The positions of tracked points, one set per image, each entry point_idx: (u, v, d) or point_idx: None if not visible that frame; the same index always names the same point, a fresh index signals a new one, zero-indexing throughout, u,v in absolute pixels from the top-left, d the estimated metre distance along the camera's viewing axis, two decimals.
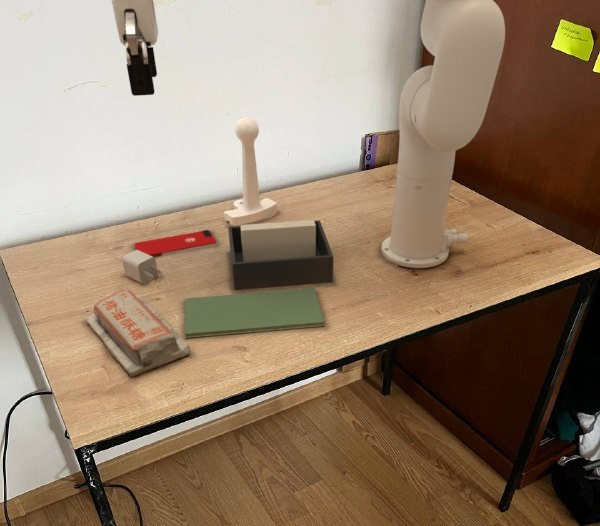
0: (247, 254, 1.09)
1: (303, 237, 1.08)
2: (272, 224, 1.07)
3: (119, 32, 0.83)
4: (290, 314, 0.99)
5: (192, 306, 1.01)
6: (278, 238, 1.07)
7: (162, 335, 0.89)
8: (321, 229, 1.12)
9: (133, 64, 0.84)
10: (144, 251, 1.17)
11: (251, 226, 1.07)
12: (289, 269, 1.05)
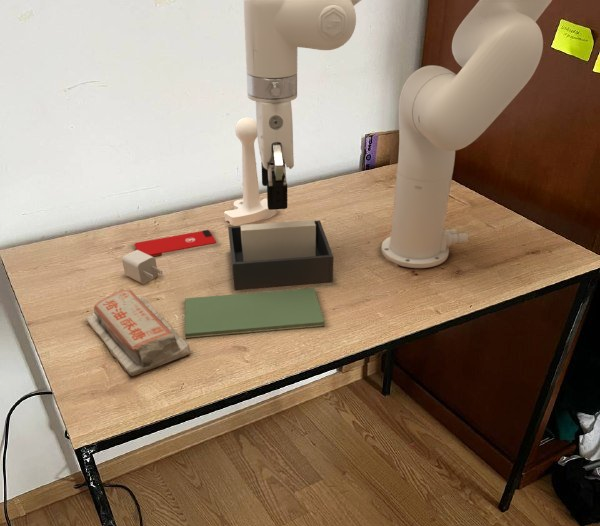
0: (247, 254, 1.09)
1: (303, 237, 1.08)
2: (272, 224, 1.07)
3: (264, 160, 0.95)
4: (290, 314, 0.99)
5: (192, 306, 1.01)
6: (278, 238, 1.07)
7: (162, 335, 0.89)
8: (321, 229, 1.12)
9: (274, 186, 0.96)
10: (144, 251, 1.17)
11: (251, 226, 1.07)
12: (289, 269, 1.05)
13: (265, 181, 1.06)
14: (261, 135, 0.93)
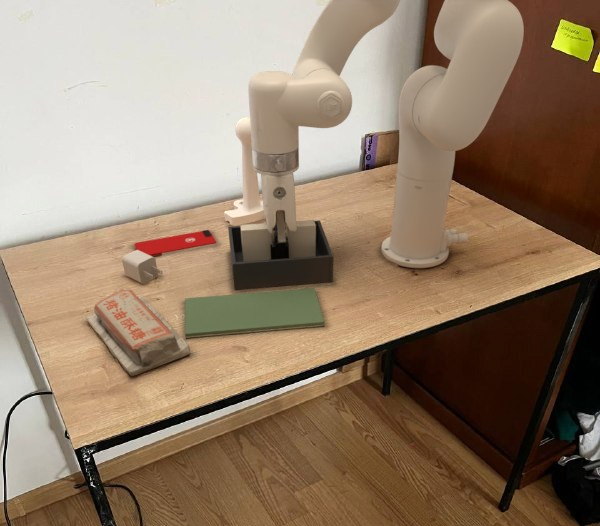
0: (247, 254, 1.09)
1: (303, 237, 1.08)
2: None
3: (269, 225, 1.02)
4: (290, 314, 0.99)
5: (192, 306, 1.01)
6: None
7: (162, 335, 0.89)
8: (321, 229, 1.12)
9: (276, 246, 1.07)
10: (144, 251, 1.17)
11: (251, 226, 1.07)
12: (289, 269, 1.05)
13: None
14: (266, 204, 1.00)
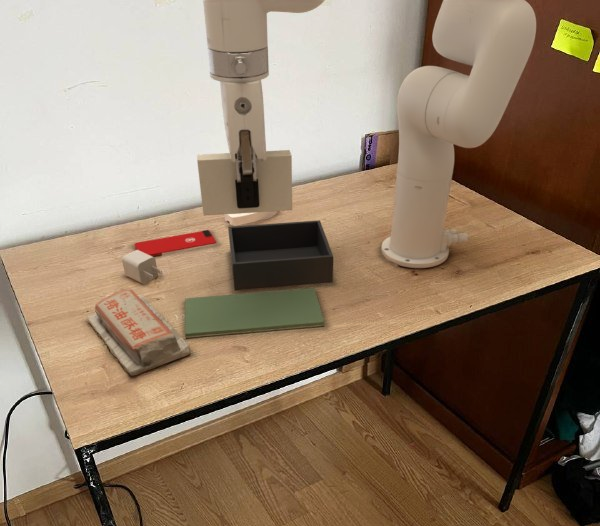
0: (205, 192, 0.87)
1: (276, 171, 0.86)
2: None
3: (231, 151, 0.80)
4: (290, 314, 0.99)
5: (192, 306, 1.01)
6: None
7: (162, 334, 0.89)
8: (321, 229, 1.12)
9: (242, 181, 0.85)
10: (144, 251, 1.17)
11: (210, 156, 0.85)
12: (289, 269, 1.05)
13: None
14: (226, 121, 0.78)
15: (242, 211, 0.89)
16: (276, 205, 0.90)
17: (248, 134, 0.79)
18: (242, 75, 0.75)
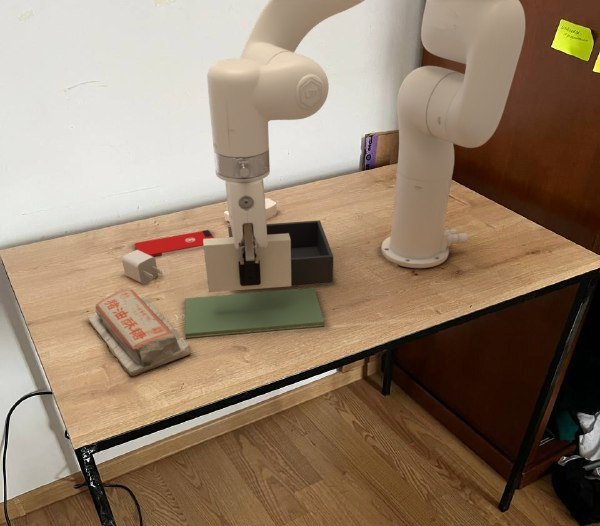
0: (211, 273, 0.94)
1: (276, 253, 0.93)
2: None
3: (235, 240, 0.87)
4: (290, 314, 0.99)
5: (192, 306, 1.01)
6: None
7: (162, 334, 0.89)
8: (321, 229, 1.12)
9: (245, 264, 0.92)
10: (144, 251, 1.17)
11: (215, 240, 0.92)
12: None
13: None
14: (231, 215, 0.85)
15: (245, 288, 0.96)
16: (276, 282, 0.97)
17: (251, 226, 0.86)
18: (245, 176, 0.82)
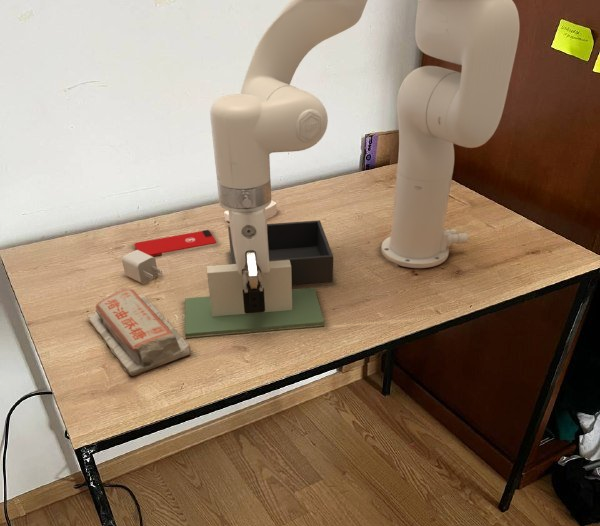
0: (214, 298, 0.97)
1: (277, 279, 0.96)
2: None
3: (239, 267, 0.90)
4: (290, 314, 0.99)
5: (192, 306, 1.01)
6: None
7: (163, 334, 0.89)
8: (321, 229, 1.12)
9: (249, 292, 0.92)
10: (144, 251, 1.17)
11: (218, 267, 0.95)
12: None
13: None
14: (234, 243, 0.88)
15: None
16: (278, 307, 1.00)
17: None
18: None
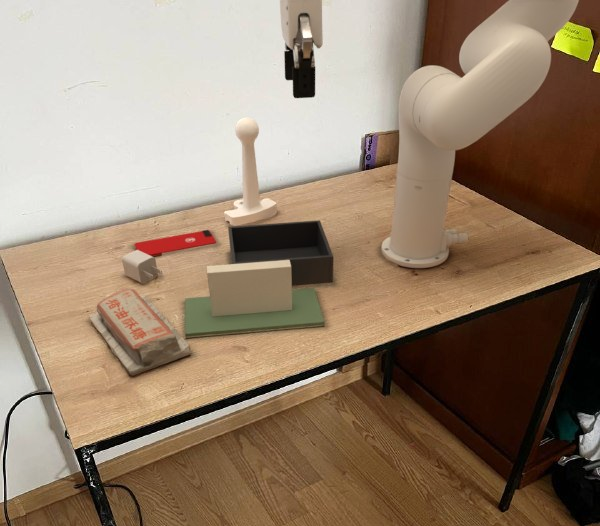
0: (214, 298, 0.97)
1: (277, 279, 0.96)
2: (242, 265, 0.95)
3: (290, 36, 0.84)
4: (290, 314, 0.99)
5: (192, 306, 1.01)
6: (249, 280, 0.96)
7: (163, 334, 0.89)
8: (321, 229, 1.12)
9: (300, 67, 0.86)
10: (144, 251, 1.17)
11: (218, 267, 0.95)
12: None
13: (288, 74, 0.96)
14: (286, 6, 0.82)
15: (247, 312, 0.99)
16: (278, 307, 1.00)
17: None
18: None
